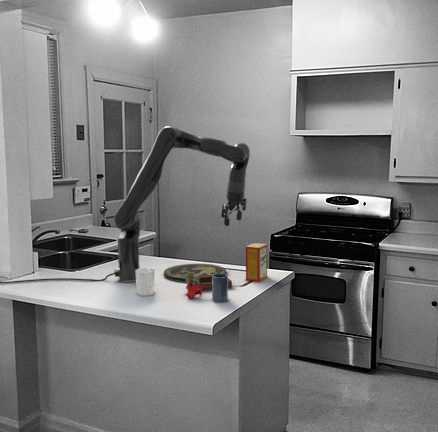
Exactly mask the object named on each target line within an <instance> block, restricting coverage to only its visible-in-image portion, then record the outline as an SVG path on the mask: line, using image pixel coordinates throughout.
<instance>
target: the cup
mask: <svg viewBox="0 0 438 432" xmlns="http://www.w3.org/2000/svg"><path fill="white" fill-rule="evenodd" d="M228 278H229V275H228V274H214V275H212V290H211V294H212V295H211V296H212V297H211V299H212V302H214V303H226V302H228V300H229V288H228Z"/></svg>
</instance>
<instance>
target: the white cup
mask: <svg viewBox="0 0 438 432" xmlns="http://www.w3.org/2000/svg"><path fill="white" fill-rule="evenodd" d="M139 268H140V269H137V270H135V273H136V281H135V283H136V292H137V293H136V294H137V295H138V296H141V297H142V296H144V297H147V296H152V295H154V294H155V273H156V272H155V268H151V267H139Z"/></svg>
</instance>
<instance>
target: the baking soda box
mask: <svg viewBox="0 0 438 432" xmlns="http://www.w3.org/2000/svg"><path fill="white" fill-rule="evenodd" d="M266 278H268V243H258V242H253V243H250V244H248V245H246V246H245V281H249V282H258V283H260V282H262V281H263V280H265V279H266Z"/></svg>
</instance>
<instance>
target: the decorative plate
mask: <svg viewBox="0 0 438 432" xmlns="http://www.w3.org/2000/svg"><path fill="white" fill-rule="evenodd" d="M189 272H192V273H193V275H194V278H195V277H196V276H197V277H206V276H212V275H214V274H226V275H228V274H227V269H226V268H224V267H223V266H220V265H216V264H211V263H185V264H177V265H173V266H170V267H167V268H166V269H164V271H163V277H164V278H166V279H168V280H170V281H175V282H182V283H187V282H186V278H185V276H186V273H189Z"/></svg>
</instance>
